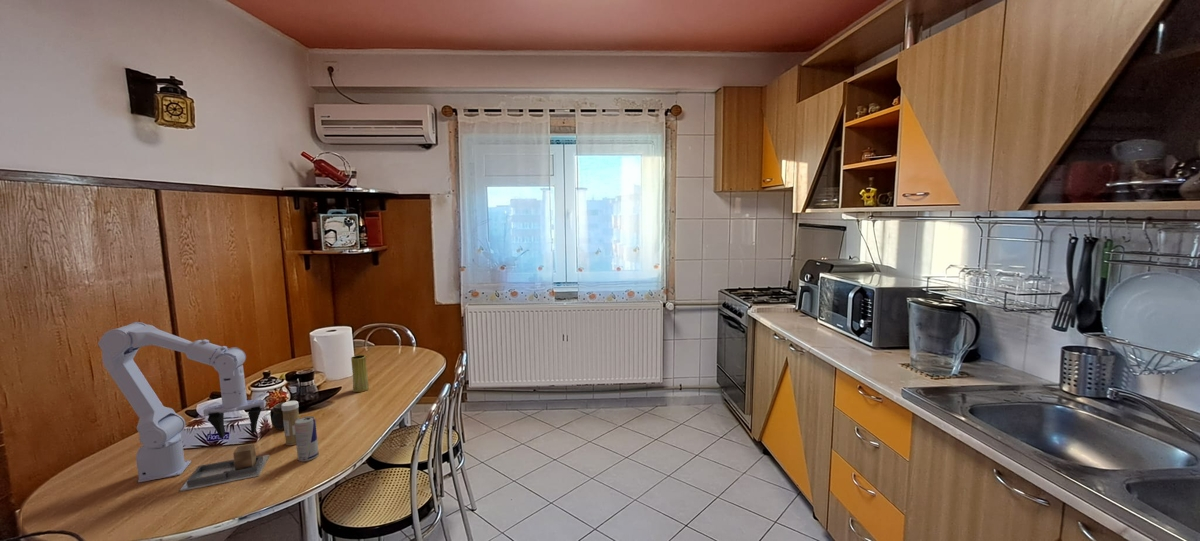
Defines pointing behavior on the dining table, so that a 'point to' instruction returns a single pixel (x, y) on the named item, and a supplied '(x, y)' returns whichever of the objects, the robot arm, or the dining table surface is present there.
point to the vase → (359, 373)
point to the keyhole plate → (223, 473)
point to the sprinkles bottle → (290, 420)
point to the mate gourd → (278, 416)
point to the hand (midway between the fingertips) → (238, 434)
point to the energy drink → (306, 438)
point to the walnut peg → (244, 456)
